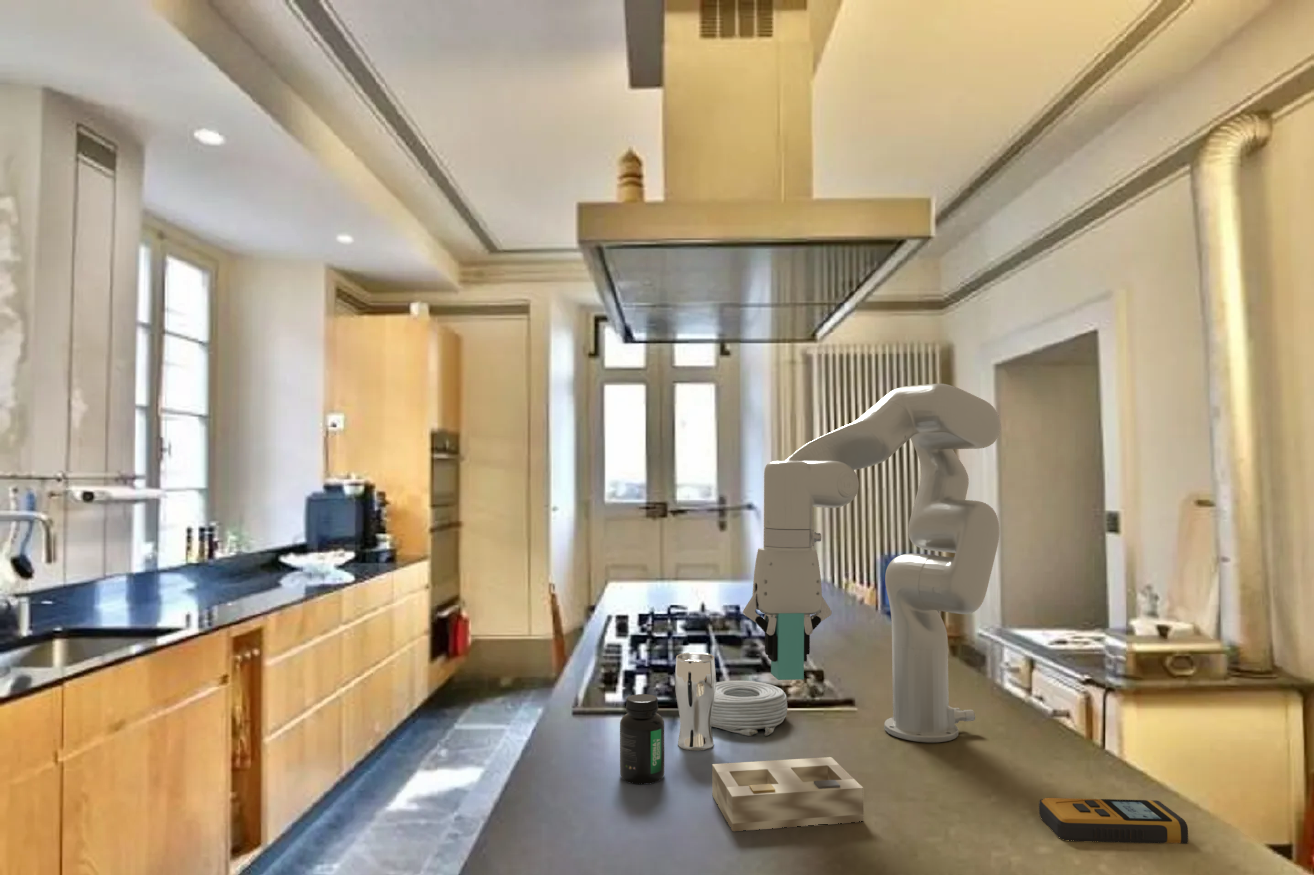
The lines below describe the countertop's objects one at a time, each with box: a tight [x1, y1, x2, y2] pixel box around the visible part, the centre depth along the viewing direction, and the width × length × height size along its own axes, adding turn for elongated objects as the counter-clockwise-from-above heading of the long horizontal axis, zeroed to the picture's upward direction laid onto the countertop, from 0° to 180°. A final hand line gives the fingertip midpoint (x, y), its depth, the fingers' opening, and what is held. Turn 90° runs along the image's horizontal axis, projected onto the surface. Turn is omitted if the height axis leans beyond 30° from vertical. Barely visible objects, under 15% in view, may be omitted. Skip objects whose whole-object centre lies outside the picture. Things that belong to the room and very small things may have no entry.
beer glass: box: [674, 652, 717, 752], centre depth 143 cm, size 7×7×15 cm
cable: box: [711, 680, 788, 737], centre depth 157 cm, size 18×18×6 cm
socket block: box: [711, 756, 865, 832], centre depth 116 cm, size 18×12×5 cm, turn 99°
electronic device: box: [1038, 797, 1189, 845], centre depth 109 cm, size 8×16×3 cm, turn 86°
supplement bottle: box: [619, 693, 666, 785], centre depth 128 cm, size 7×7×12 cm
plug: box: [770, 613, 805, 681], centre depth 129 cm, size 4×4×11 cm
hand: (787, 658), depth 129 cm, fingers closed on plug, 4 cm apart
